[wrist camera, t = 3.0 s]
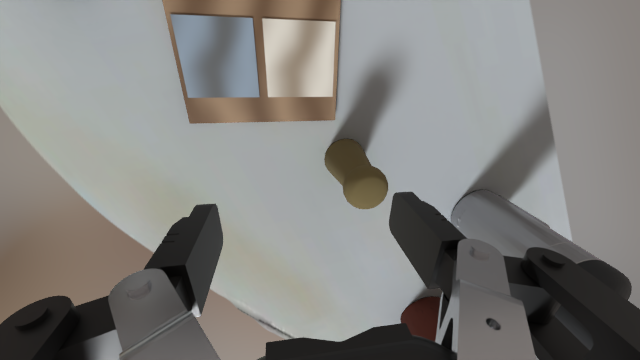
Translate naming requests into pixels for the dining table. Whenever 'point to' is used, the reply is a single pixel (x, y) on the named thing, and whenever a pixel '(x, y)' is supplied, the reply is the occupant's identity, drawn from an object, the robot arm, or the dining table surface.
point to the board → (256, 58)
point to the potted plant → (422, 317)
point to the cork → (356, 174)
